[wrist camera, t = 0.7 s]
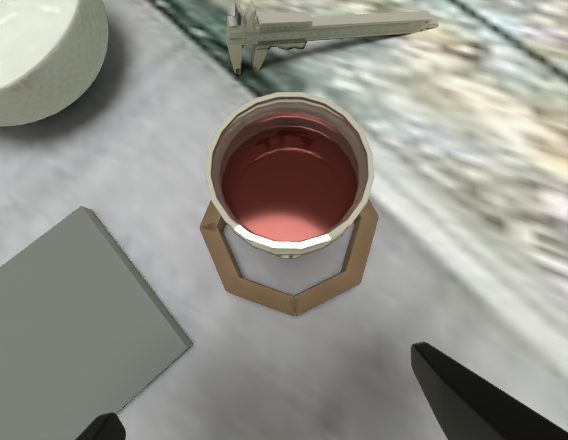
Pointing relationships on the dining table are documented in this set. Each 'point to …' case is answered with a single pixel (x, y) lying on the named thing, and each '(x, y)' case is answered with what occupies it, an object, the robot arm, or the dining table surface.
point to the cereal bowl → (48, 55)
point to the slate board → (77, 332)
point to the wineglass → (289, 172)
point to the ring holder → (279, 300)
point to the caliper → (310, 30)
